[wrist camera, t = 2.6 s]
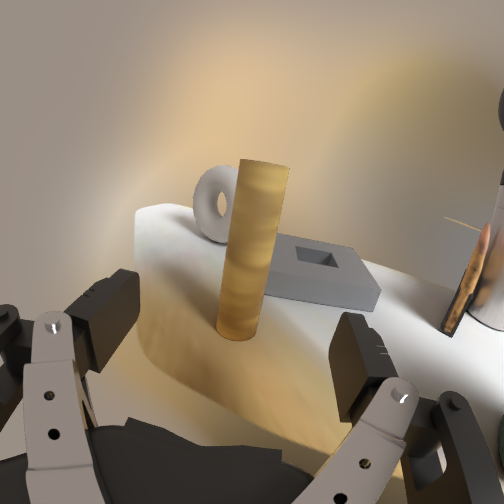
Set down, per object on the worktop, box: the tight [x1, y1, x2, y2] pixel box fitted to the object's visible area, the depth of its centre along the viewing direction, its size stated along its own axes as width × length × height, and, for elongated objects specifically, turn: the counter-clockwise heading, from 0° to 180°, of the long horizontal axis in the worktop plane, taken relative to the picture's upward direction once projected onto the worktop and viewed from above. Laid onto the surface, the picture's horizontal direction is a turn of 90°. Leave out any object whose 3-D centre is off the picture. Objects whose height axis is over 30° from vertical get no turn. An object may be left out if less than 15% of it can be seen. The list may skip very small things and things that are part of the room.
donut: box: [193, 166, 239, 243], centre depth 36 cm, size 10×4×10 cm, turn 48°
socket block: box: [264, 233, 381, 312], centre depth 32 cm, size 12×12×2 cm
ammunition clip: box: [438, 222, 490, 338], centre depth 25 cm, size 11×2×12 cm, turn 132°
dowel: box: [216, 159, 289, 341], centre depth 19 cm, size 3×3×12 cm
